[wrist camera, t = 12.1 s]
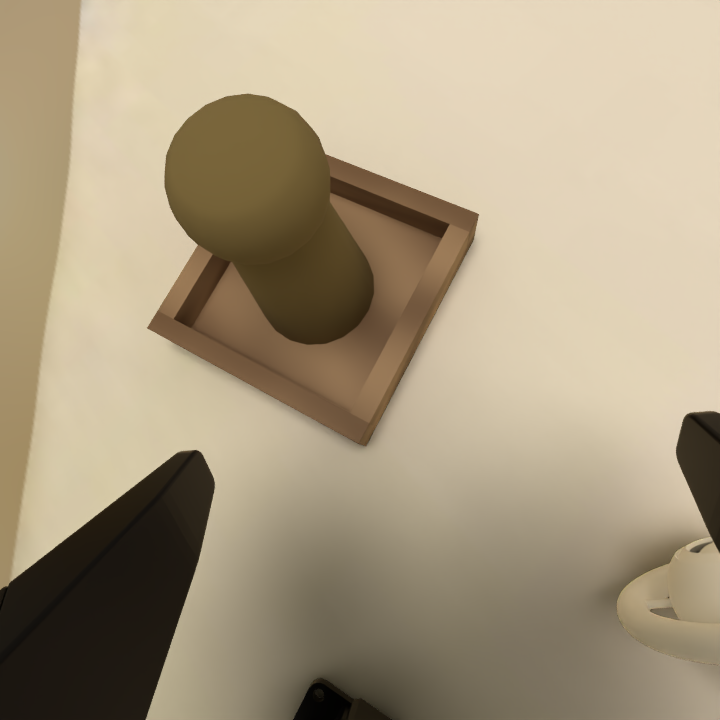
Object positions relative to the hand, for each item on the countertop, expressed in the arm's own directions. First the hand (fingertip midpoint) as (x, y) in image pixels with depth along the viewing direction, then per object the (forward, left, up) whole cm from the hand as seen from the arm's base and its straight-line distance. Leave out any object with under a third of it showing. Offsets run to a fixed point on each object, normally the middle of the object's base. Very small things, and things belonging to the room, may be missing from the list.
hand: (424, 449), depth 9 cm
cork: (+5, +9, -13) cm, 17 cm away
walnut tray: (+5, +9, -14) cm, 17 cm away
